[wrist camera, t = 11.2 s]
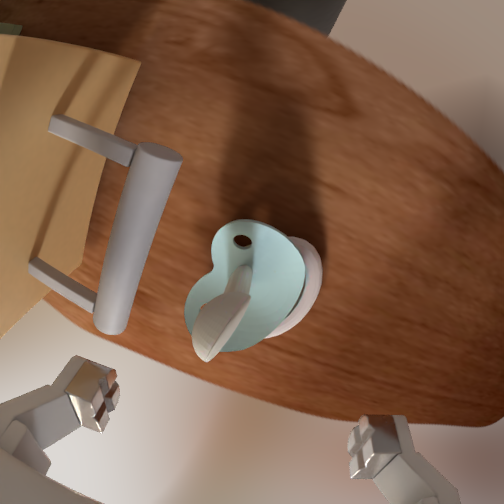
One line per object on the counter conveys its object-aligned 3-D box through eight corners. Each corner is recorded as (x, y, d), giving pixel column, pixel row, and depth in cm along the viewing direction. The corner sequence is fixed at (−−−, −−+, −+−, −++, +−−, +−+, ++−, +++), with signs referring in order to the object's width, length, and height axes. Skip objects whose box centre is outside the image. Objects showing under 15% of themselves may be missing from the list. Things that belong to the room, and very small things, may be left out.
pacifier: (345, 247, 15) (235, 192, 15) (377, 325, 10) (205, 248, 9) (277, 346, 18) (183, 307, 18) (273, 434, 13) (147, 388, 12)
